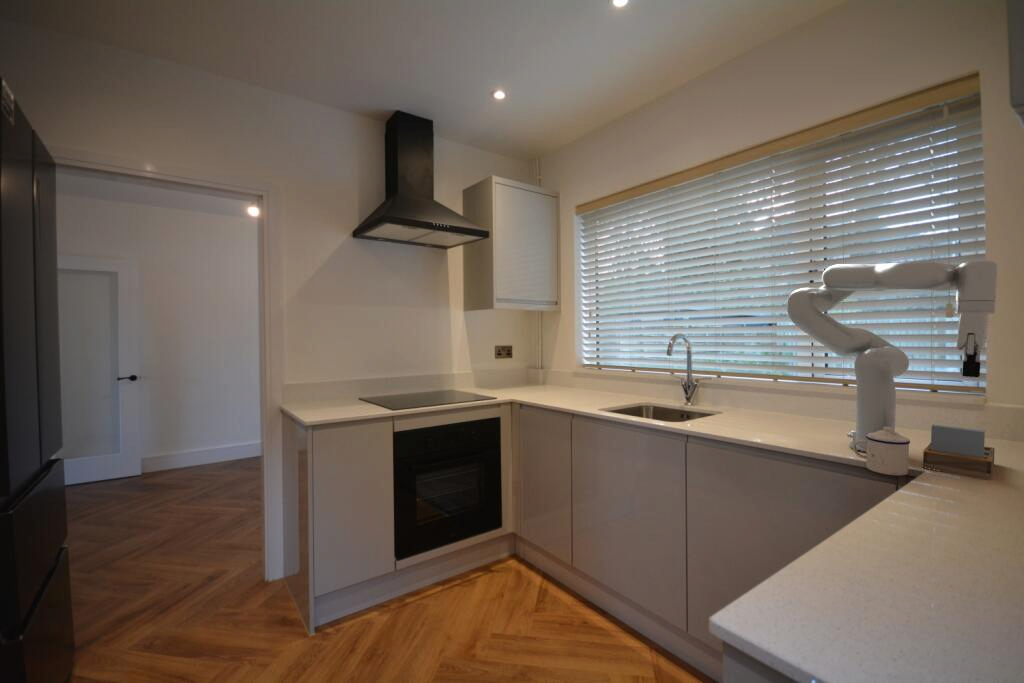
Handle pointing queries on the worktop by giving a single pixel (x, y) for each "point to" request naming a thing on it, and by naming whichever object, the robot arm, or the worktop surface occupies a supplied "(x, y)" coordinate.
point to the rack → (960, 463)
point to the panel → (958, 441)
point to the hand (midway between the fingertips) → (970, 376)
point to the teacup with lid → (886, 452)
